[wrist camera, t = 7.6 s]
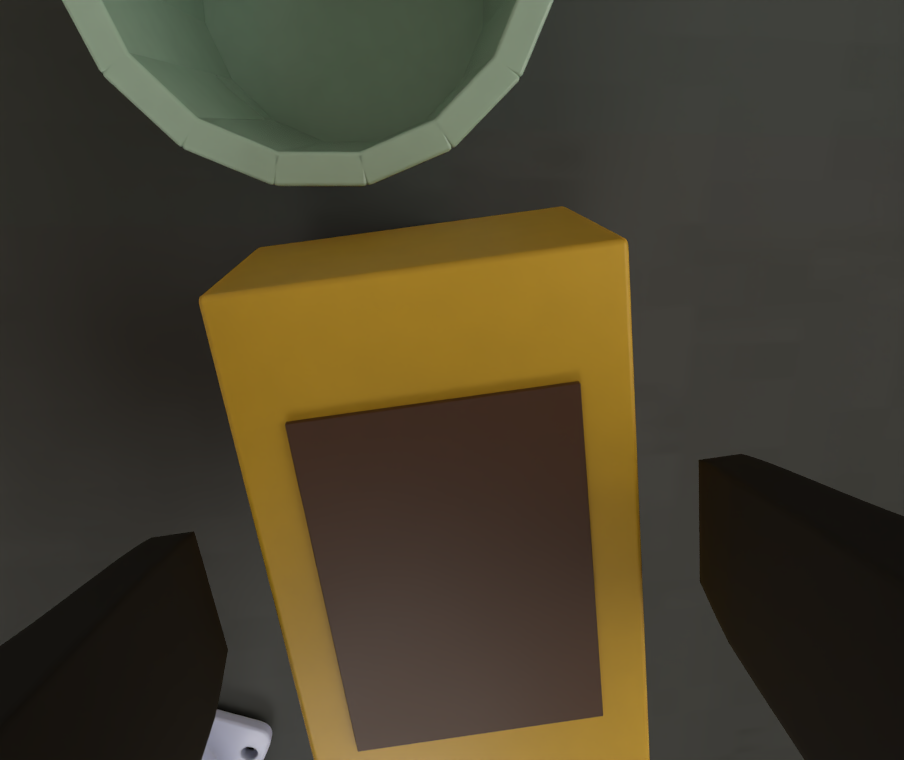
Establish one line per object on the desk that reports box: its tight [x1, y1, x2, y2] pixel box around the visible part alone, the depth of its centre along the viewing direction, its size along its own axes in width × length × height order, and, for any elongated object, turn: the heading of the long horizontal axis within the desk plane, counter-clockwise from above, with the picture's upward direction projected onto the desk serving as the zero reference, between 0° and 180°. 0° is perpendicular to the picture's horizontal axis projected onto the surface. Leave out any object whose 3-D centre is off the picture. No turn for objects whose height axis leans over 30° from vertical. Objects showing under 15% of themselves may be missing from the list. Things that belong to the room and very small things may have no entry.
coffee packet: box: [199, 206, 650, 760], centre depth 11 cm, size 8×5×4 cm, turn 7°
